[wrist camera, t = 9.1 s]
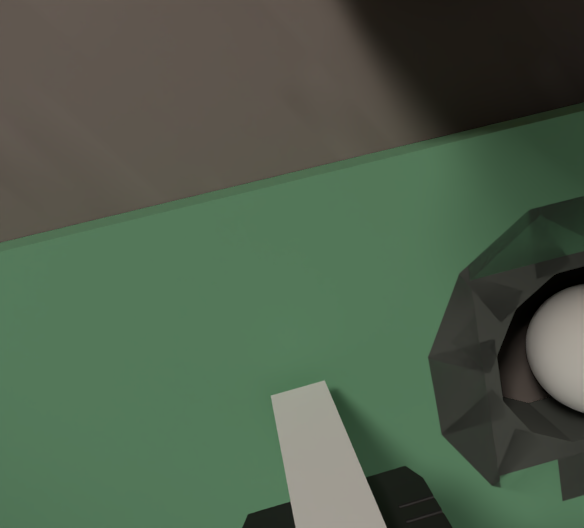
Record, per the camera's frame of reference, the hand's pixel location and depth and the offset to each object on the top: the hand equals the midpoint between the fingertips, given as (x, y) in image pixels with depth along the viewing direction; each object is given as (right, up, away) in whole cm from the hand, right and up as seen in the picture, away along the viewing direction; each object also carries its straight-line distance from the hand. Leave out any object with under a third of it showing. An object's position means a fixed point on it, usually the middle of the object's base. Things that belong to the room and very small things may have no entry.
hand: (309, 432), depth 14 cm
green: (+1, +1, +3) cm, 4 cm away
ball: (+9, +2, +2) cm, 9 cm away
